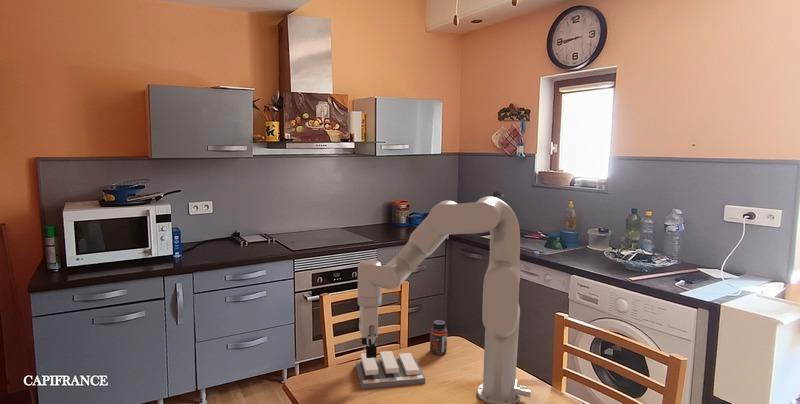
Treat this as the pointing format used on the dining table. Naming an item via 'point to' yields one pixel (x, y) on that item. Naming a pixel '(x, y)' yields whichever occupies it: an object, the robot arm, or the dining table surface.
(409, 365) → the switch
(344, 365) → the dining table surface
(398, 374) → the switch board
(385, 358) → the middle switch
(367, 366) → the switch
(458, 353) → the dining table surface
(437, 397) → the dining table surface
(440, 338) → the supplement bottle
